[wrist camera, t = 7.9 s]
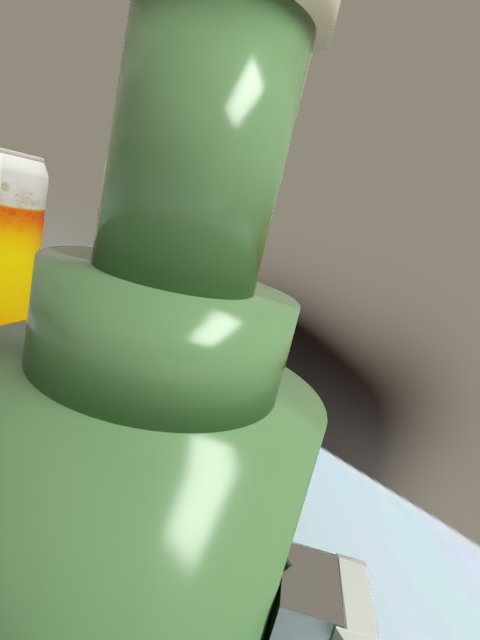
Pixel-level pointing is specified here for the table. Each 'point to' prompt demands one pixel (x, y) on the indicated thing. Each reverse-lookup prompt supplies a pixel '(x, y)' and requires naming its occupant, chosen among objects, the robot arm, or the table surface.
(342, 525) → the table surface
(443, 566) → the table surface
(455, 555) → the table surface
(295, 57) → the bottle
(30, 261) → the beer can
